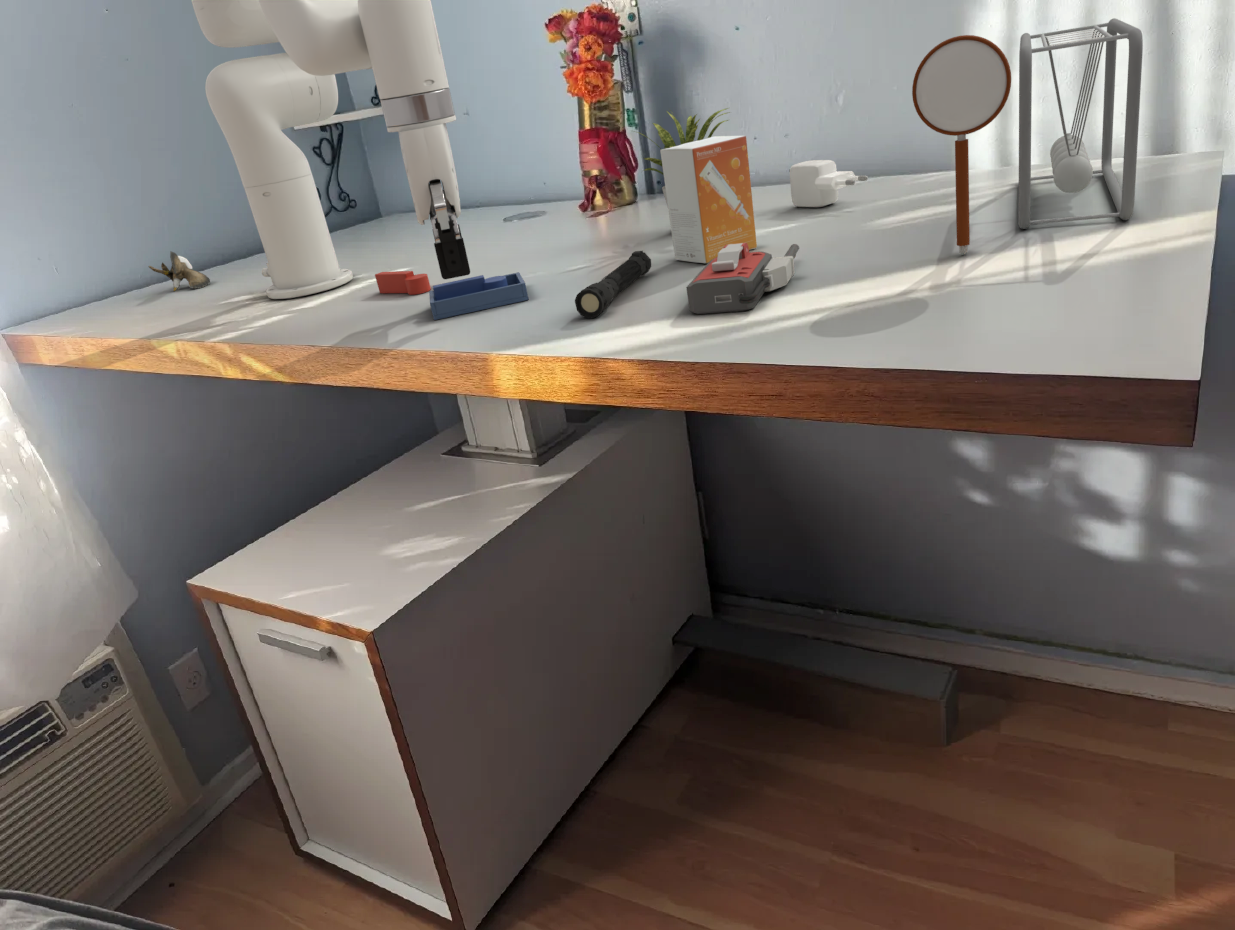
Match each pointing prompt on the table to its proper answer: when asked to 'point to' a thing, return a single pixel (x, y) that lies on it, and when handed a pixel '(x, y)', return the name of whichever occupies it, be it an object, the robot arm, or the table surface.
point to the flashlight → (611, 285)
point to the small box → (709, 196)
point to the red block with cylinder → (402, 282)
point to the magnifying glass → (961, 102)
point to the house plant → (682, 137)
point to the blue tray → (480, 299)
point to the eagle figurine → (182, 272)
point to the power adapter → (818, 182)
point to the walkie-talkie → (738, 279)
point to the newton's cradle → (1069, 149)
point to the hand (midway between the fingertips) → (454, 268)
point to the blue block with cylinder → (468, 286)
